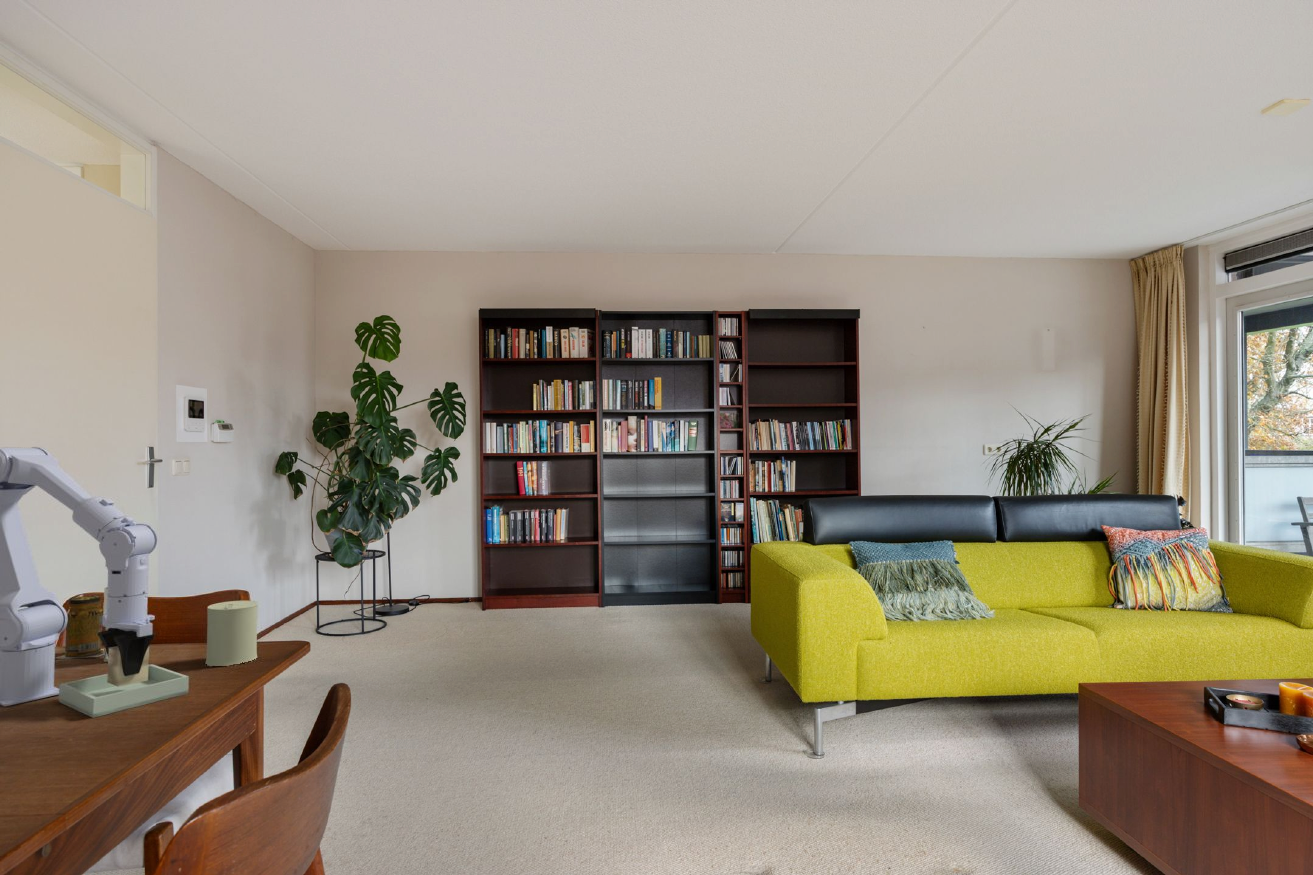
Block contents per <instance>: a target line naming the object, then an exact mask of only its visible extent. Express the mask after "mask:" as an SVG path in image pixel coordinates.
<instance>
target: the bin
mask: <svg viewBox="0 0 1313 875" xmlns="http://www.w3.org/2000/svg"><path fill="white" fill-rule="evenodd" d="M107 677H108V673H106V674H105V673H104V674H101V675H100V674H99V675H96V676H91V677H87V678H81V679H78V680H71V681H68V682H64V683H63V682H62V683H60V684H58V685H59V686H58V687H59V688H58V689H59V694H58V702H59V703H60V704H63V705H65V706H67V707H69V708H71V709H73V710H76V711H78V712H80V713H82V714H84V715H86V716H88V717H91V718H97V717H102V716H106V715H111V714H114V713H117V712H122V711H126V710H130V709H133V708H137V707H141V706H145V705H149V704H153V703H156V702H161V701H164V700H168V699H174V698H177V697H180V696H183V695H185V696H186V695H188V694H189V690H190V689H189V688H190V687H189V685H190V684H189V683H190V681H189V680H190V676H189V675H185V674H182V673H179V672H176V671H174V670H170V669H169V668H168V669H167V668H164V667H161V666H159V665H155V664H148V680H147V681H143V682H138V683H134V684H129V685H124V686H120V687H118V686H115V685H113V684H110V683H107Z"/></svg>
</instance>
